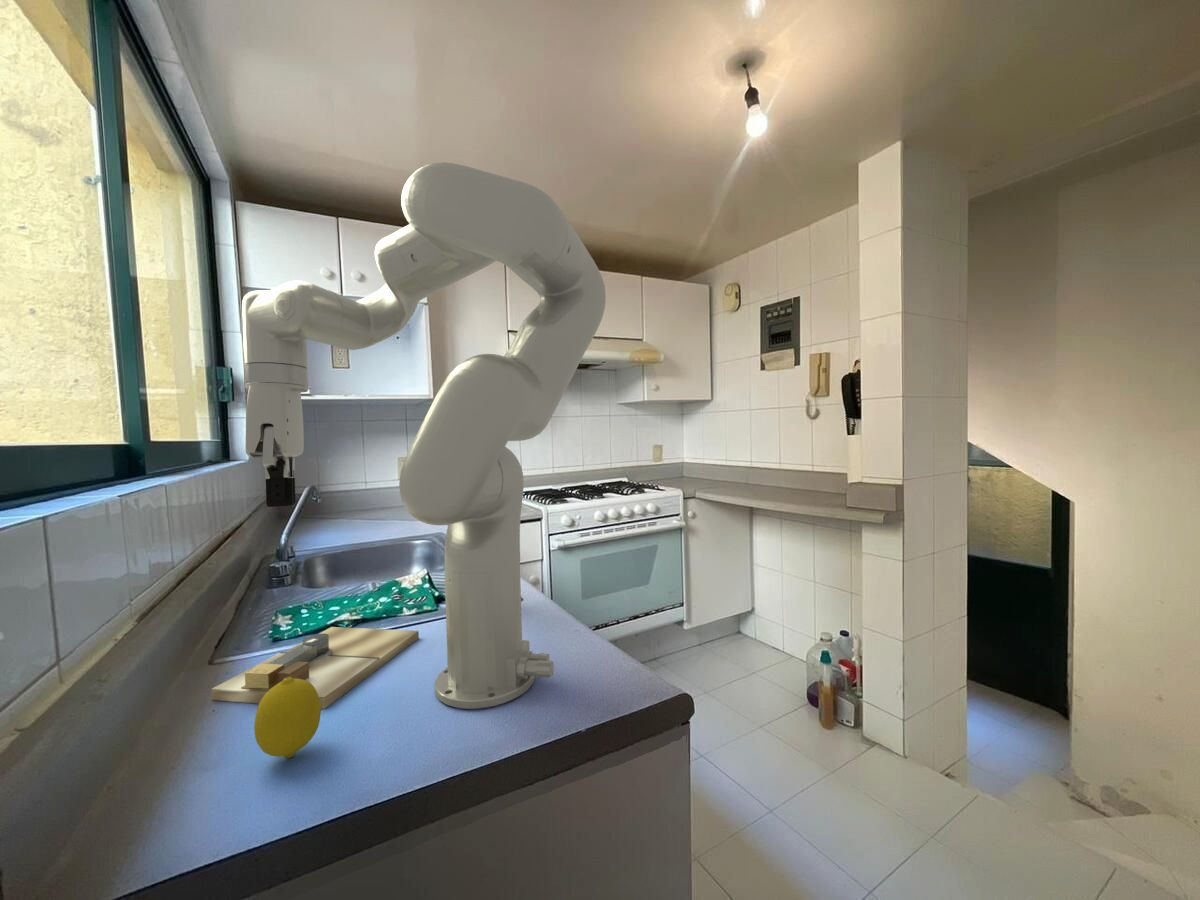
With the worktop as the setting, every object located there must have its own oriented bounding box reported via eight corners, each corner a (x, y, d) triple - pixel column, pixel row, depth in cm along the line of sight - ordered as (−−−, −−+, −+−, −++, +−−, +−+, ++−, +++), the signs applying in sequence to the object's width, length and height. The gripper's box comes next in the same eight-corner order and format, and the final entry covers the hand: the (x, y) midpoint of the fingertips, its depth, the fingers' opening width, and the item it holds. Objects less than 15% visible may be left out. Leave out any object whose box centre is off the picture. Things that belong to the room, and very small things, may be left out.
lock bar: (314, 646, 67) (313, 633, 67) (334, 647, 67) (333, 633, 67) (245, 687, 56) (244, 671, 56) (268, 688, 56) (268, 672, 56)
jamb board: (418, 638, 74) (418, 617, 74) (324, 708, 54) (323, 680, 54) (331, 633, 77) (331, 613, 77) (212, 699, 57) (211, 672, 57)
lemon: (289, 780, 43) (286, 695, 42) (240, 773, 44) (238, 690, 44) (334, 742, 48) (332, 666, 48) (290, 736, 49) (288, 663, 49)
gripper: (264, 386, 72) (268, 502, 72) (223, 370, 58) (228, 514, 58) (318, 387, 75) (322, 498, 75) (292, 372, 60) (297, 510, 61)
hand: (281, 505), depth 66 cm, fingers closed
